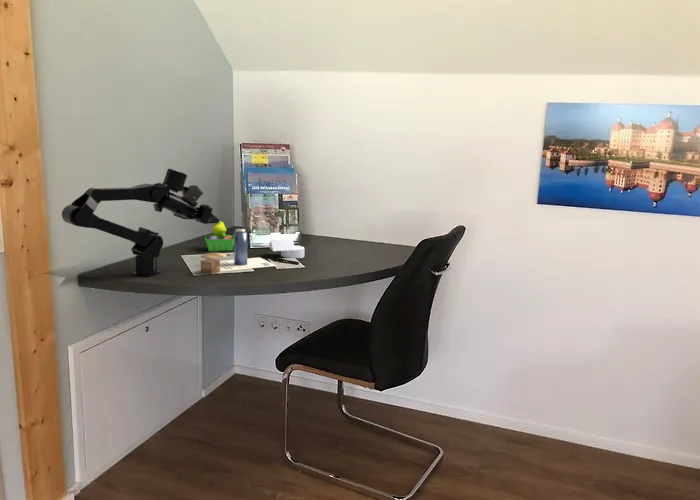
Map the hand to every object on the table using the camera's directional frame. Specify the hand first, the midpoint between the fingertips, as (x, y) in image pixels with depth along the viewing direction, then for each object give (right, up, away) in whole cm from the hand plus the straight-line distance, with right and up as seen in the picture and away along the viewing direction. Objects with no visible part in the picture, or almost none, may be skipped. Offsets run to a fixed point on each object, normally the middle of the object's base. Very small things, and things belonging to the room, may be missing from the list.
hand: (211, 219), depth 222 cm
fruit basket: (-3, -11, +27) cm, 29 cm away
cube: (+2, -18, -11) cm, 21 cm away
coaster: (-2, -13, +14) cm, 19 cm away
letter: (+10, -16, +2) cm, 19 cm away
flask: (+10, -16, +2) cm, 19 cm away
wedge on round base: (+25, -13, +18) cm, 34 cm away
